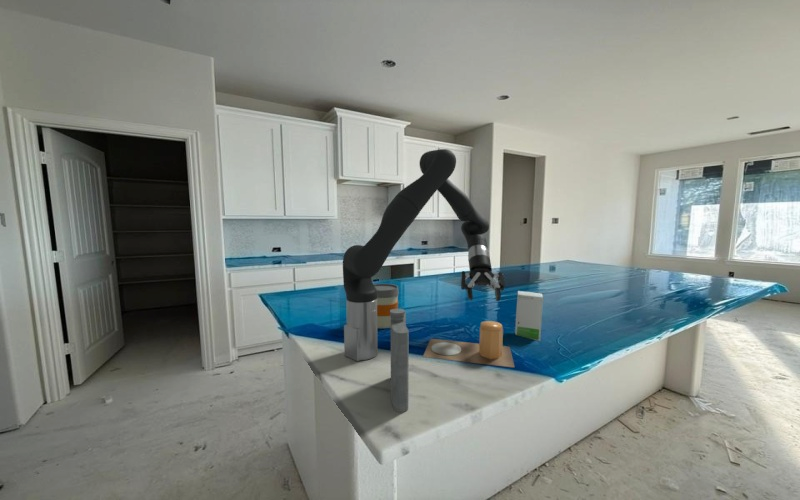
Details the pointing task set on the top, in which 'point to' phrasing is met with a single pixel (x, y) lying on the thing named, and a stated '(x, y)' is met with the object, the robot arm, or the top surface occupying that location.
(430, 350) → the post board
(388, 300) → the reusable coffee cup
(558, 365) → the top surface
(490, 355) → the cap
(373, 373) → the top surface
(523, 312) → the skincare box
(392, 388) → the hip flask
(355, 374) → the top surface
